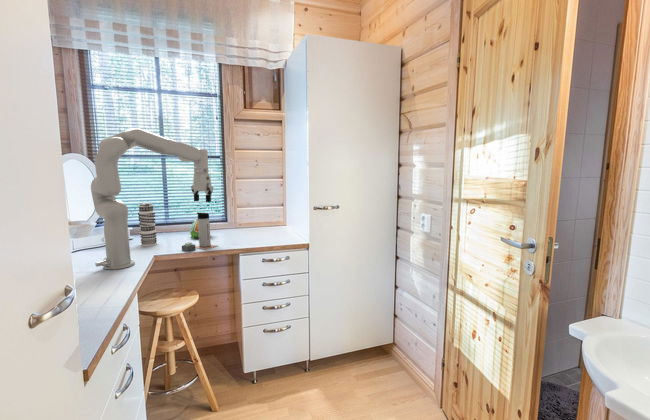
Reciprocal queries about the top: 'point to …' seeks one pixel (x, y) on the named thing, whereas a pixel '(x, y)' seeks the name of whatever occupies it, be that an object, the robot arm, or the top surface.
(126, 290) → the top surface
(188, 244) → the button
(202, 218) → the travel mug
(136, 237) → the top surface
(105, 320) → the top surface
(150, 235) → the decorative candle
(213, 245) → the picture square
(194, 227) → the turtle holder
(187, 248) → the button base
